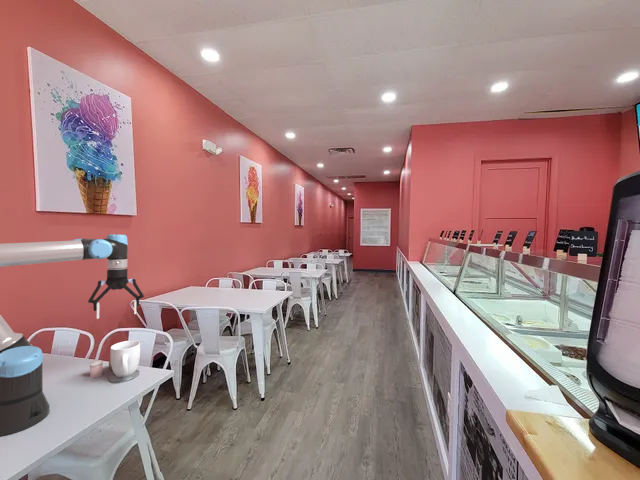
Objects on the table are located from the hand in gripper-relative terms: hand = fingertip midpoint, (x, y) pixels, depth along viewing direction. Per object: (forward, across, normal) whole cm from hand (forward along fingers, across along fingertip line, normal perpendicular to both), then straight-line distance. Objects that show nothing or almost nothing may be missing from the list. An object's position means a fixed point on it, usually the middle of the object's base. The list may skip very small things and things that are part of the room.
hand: (117, 315), depth 128 cm
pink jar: (+26, -8, +3) cm, 28 cm away
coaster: (+26, +3, -5) cm, 27 cm away
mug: (+26, +3, -5) cm, 27 cm away
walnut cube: (+26, -1, +6) cm, 27 cm away
